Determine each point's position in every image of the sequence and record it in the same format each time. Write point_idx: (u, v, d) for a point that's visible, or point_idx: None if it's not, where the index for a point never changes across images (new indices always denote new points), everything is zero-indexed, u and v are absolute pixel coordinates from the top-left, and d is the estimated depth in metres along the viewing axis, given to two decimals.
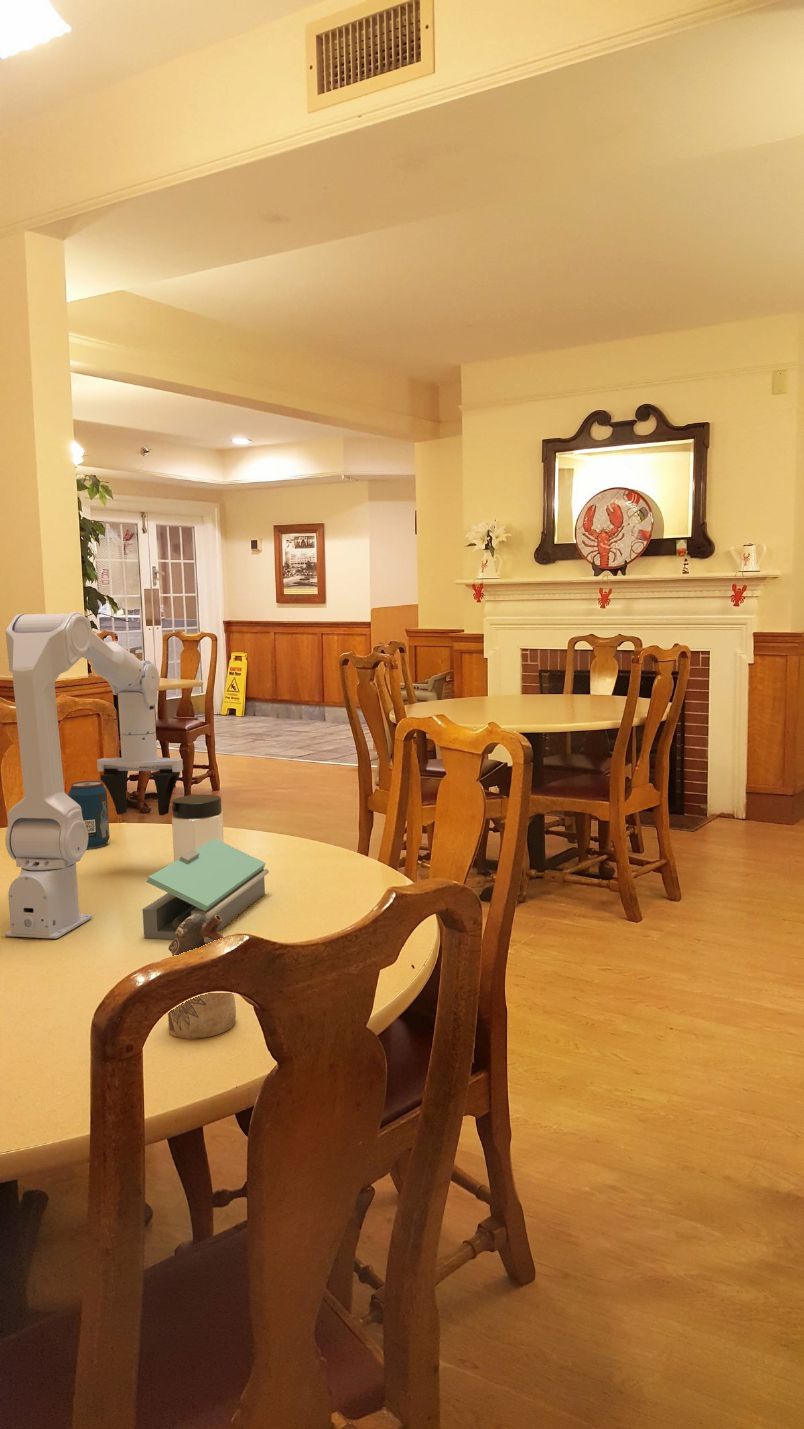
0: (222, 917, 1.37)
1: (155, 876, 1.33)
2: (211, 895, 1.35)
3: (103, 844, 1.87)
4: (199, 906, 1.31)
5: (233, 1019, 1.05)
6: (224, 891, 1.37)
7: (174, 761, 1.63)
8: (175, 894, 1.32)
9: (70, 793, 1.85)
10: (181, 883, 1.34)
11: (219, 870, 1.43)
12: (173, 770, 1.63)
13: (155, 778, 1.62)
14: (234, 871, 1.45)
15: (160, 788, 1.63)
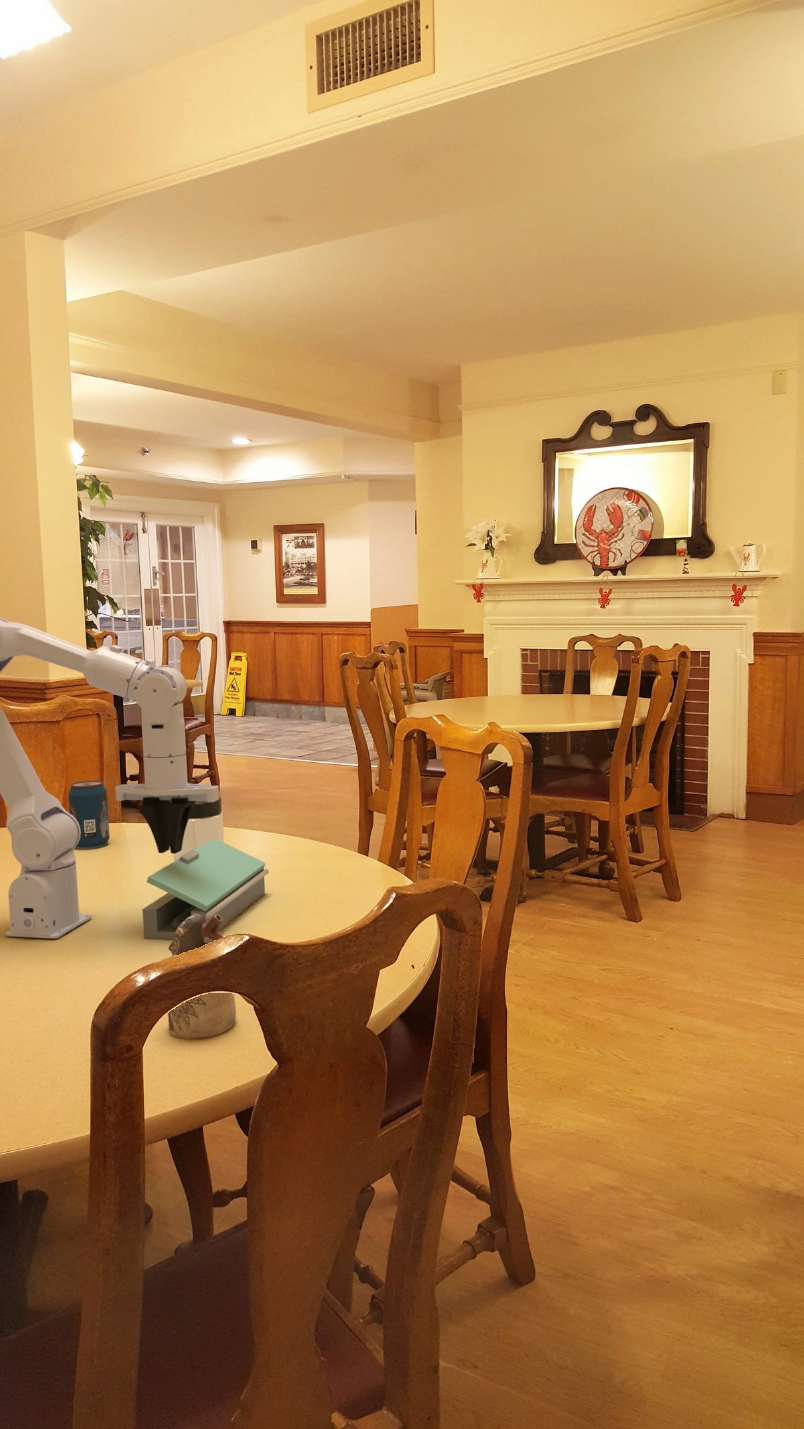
0: (222, 917, 1.37)
1: (155, 876, 1.33)
2: (211, 895, 1.35)
3: (103, 844, 1.87)
4: (199, 906, 1.31)
5: (233, 1019, 1.05)
6: (224, 891, 1.37)
7: (209, 789, 1.35)
8: (175, 894, 1.32)
9: (70, 793, 1.85)
10: (181, 883, 1.34)
11: (219, 870, 1.43)
12: (207, 800, 1.35)
13: (166, 809, 1.35)
14: (234, 871, 1.45)
15: (172, 821, 1.35)
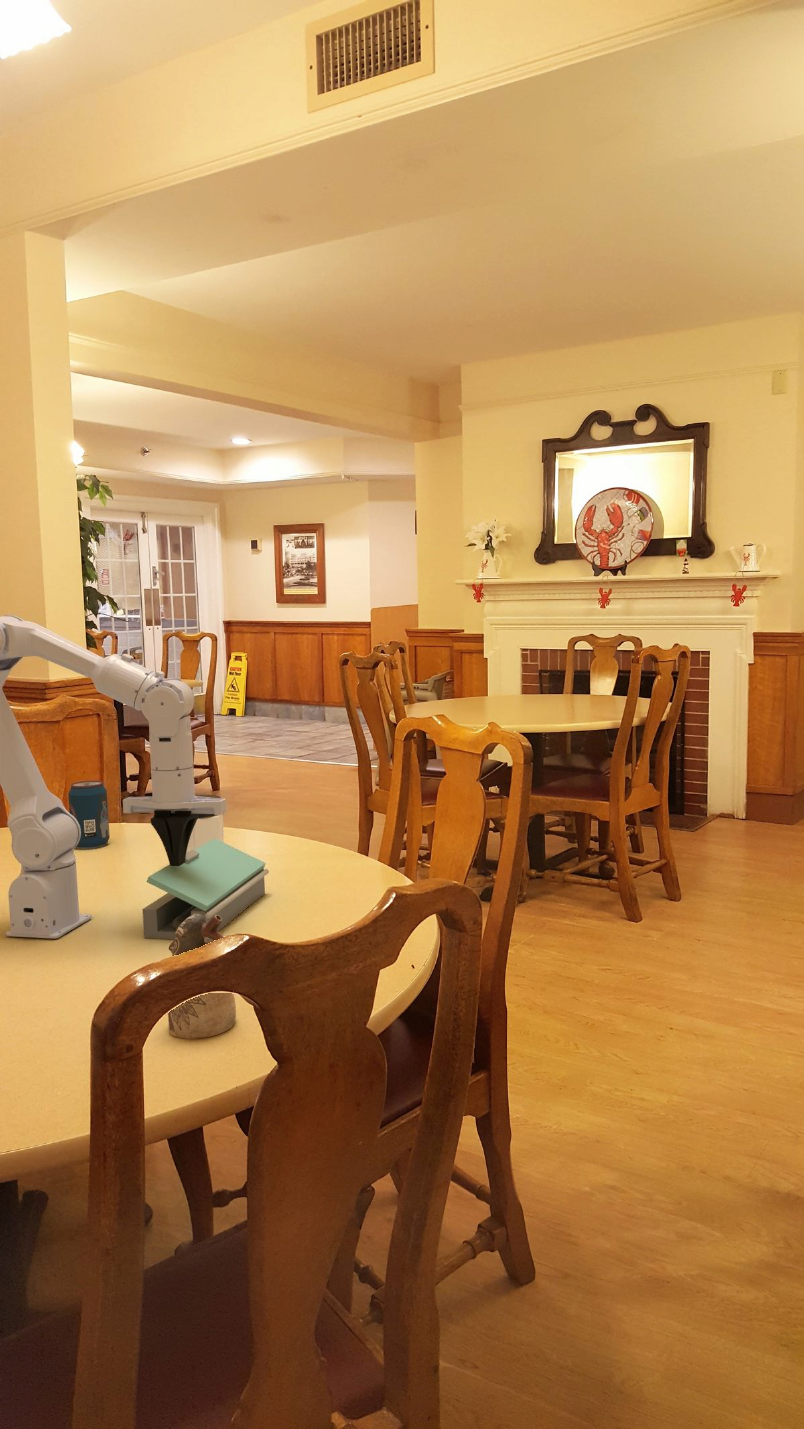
0: (222, 917, 1.37)
1: (155, 876, 1.33)
2: (211, 895, 1.35)
3: (103, 844, 1.87)
4: (199, 906, 1.31)
5: (233, 1019, 1.05)
6: (224, 891, 1.37)
7: (216, 802, 1.35)
8: (175, 894, 1.32)
9: (70, 793, 1.85)
10: (181, 883, 1.34)
11: (219, 870, 1.43)
12: (215, 813, 1.35)
13: (170, 822, 1.35)
14: (234, 871, 1.45)
15: (175, 834, 1.35)
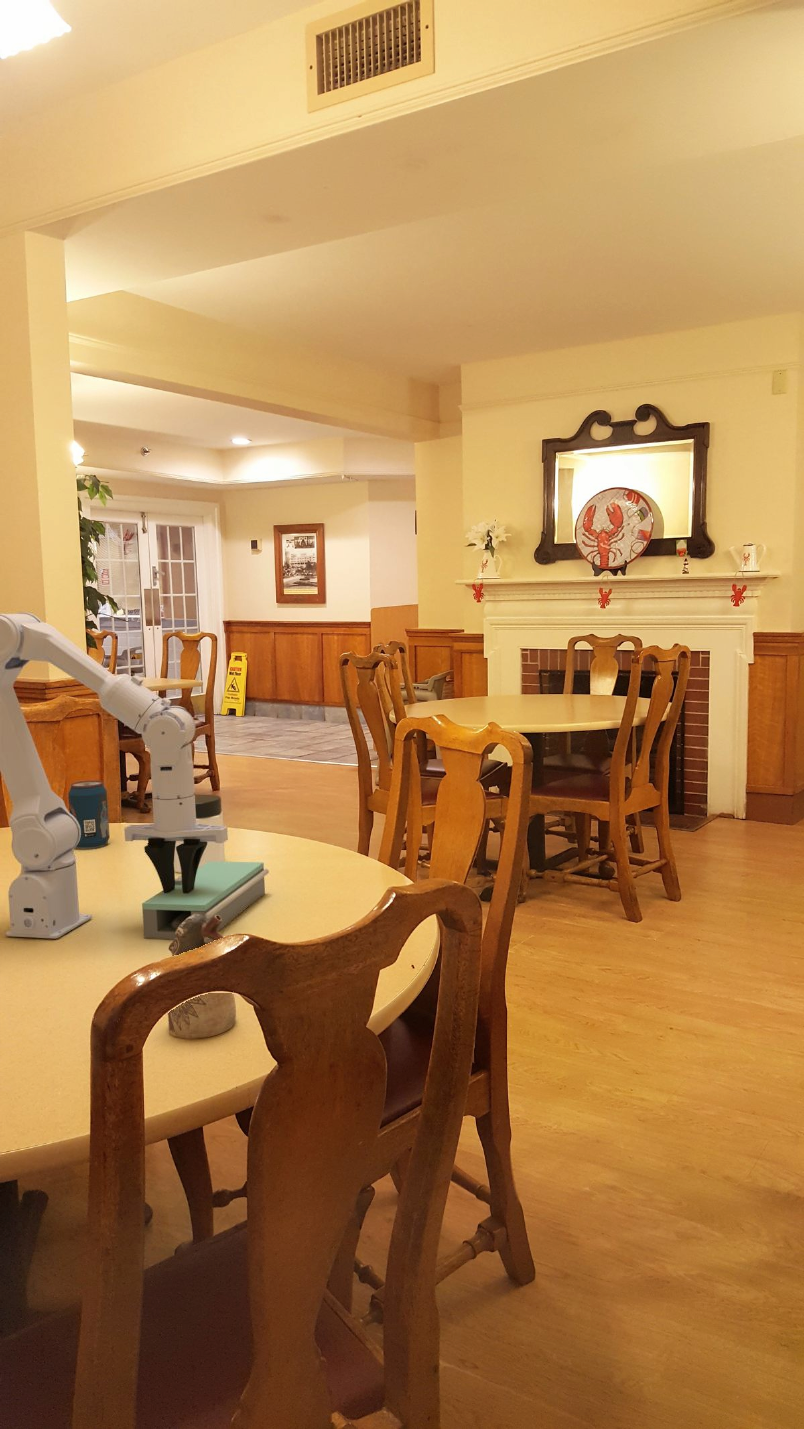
0: (222, 917, 1.37)
1: (149, 901, 1.34)
2: (208, 897, 1.35)
3: (103, 844, 1.87)
4: (198, 909, 1.32)
5: (233, 1019, 1.05)
6: (221, 891, 1.37)
7: (218, 830, 1.35)
8: (172, 908, 1.32)
9: (70, 793, 1.85)
10: (176, 898, 1.35)
11: (215, 879, 1.44)
12: (216, 841, 1.35)
13: (178, 851, 1.35)
14: (231, 876, 1.45)
15: (184, 862, 1.36)
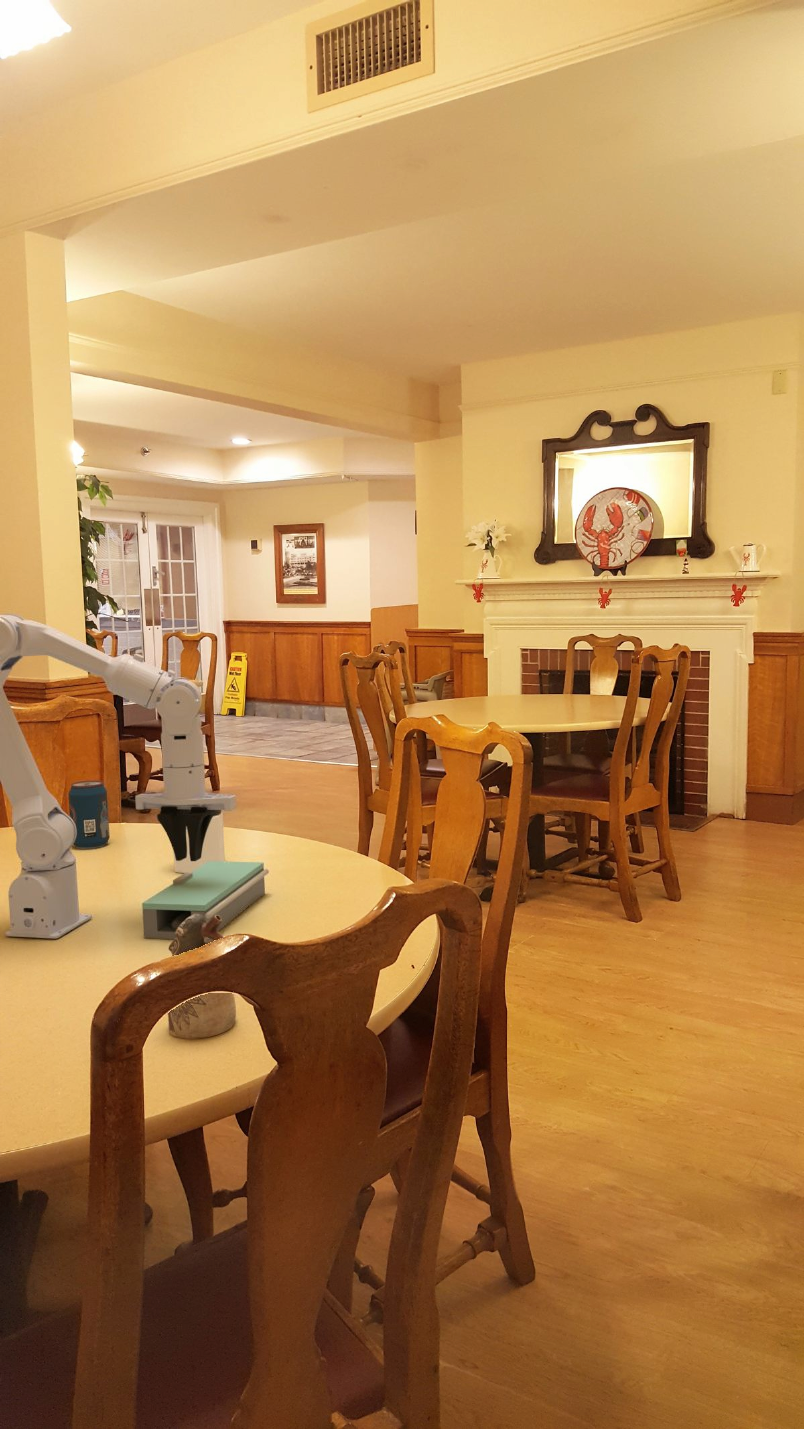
0: (222, 917, 1.37)
1: (149, 901, 1.34)
2: (208, 897, 1.35)
3: (103, 844, 1.87)
4: (198, 909, 1.32)
5: (233, 1019, 1.05)
6: (221, 891, 1.37)
7: (226, 798, 1.38)
8: (172, 908, 1.32)
9: (70, 793, 1.85)
10: (176, 898, 1.35)
11: (215, 879, 1.44)
12: (225, 809, 1.38)
13: (186, 818, 1.38)
14: (231, 876, 1.45)
15: (192, 830, 1.39)
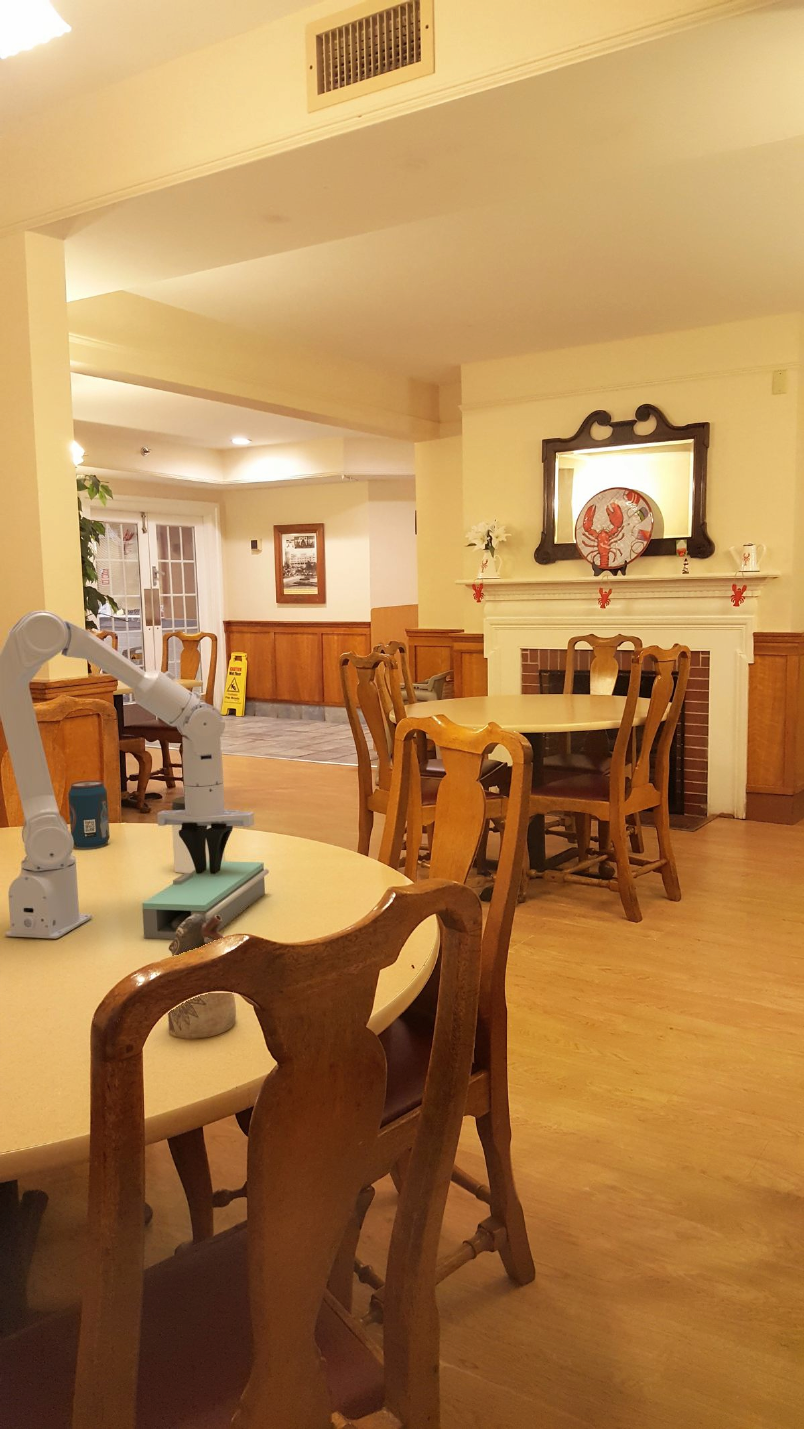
0: (222, 917, 1.37)
1: (149, 901, 1.34)
2: (208, 897, 1.35)
3: (103, 844, 1.87)
4: (198, 909, 1.32)
5: (233, 1019, 1.05)
6: (221, 891, 1.37)
7: (245, 815, 1.45)
8: (172, 908, 1.32)
9: (70, 793, 1.85)
10: (176, 898, 1.35)
11: (215, 879, 1.44)
12: (244, 825, 1.45)
13: (207, 834, 1.45)
14: (231, 876, 1.45)
15: (212, 845, 1.45)
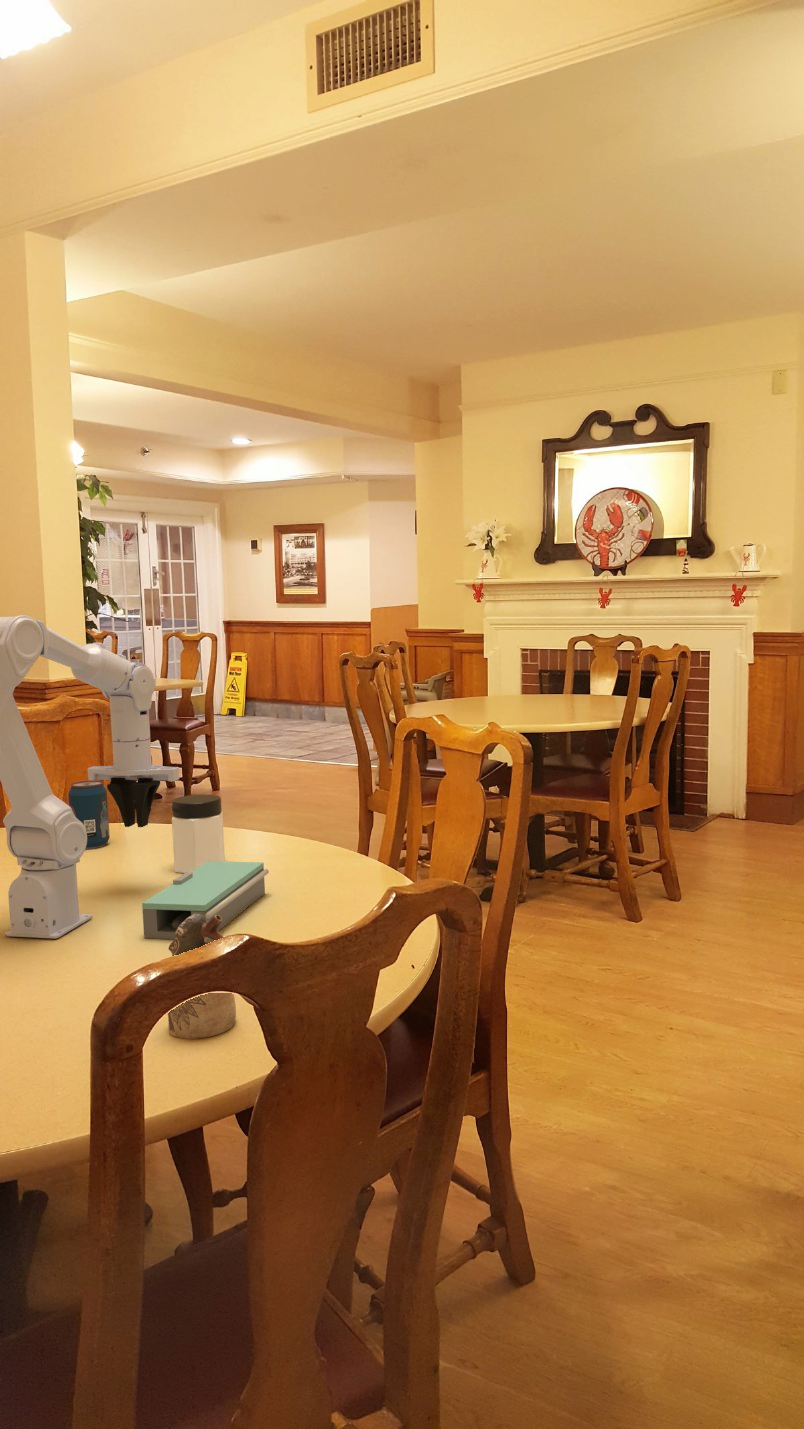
0: (222, 917, 1.37)
1: (149, 901, 1.34)
2: (208, 897, 1.35)
3: (103, 844, 1.87)
4: (198, 909, 1.32)
5: (233, 1019, 1.05)
6: (221, 891, 1.37)
7: (170, 770, 1.52)
8: (172, 908, 1.32)
9: (70, 793, 1.85)
10: (176, 898, 1.35)
11: (215, 879, 1.44)
12: (169, 779, 1.52)
13: (133, 788, 1.52)
14: (231, 876, 1.45)
15: (138, 798, 1.53)
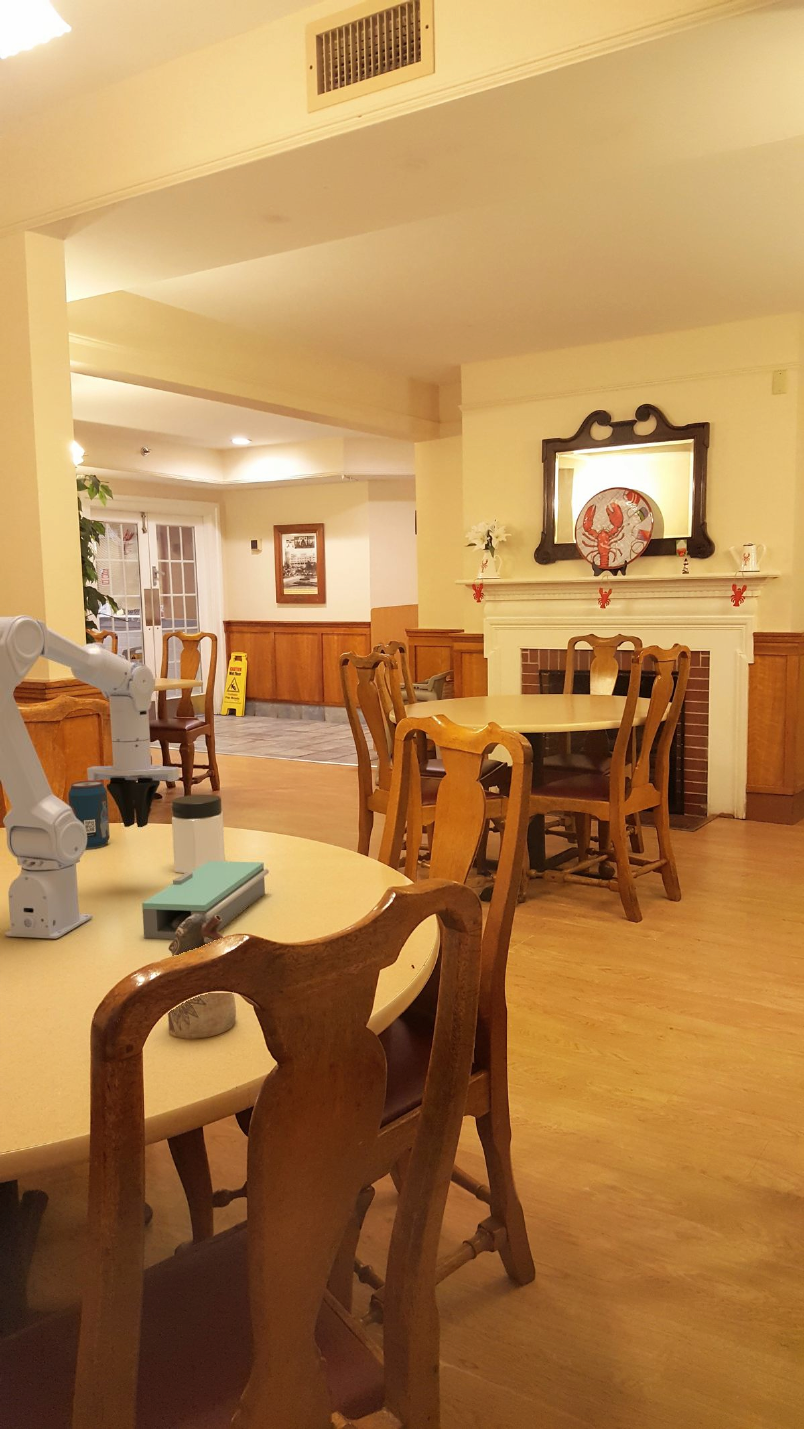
0: (222, 917, 1.37)
1: (149, 901, 1.34)
2: (208, 897, 1.35)
3: (103, 844, 1.87)
4: (198, 909, 1.32)
5: (233, 1019, 1.05)
6: (221, 891, 1.37)
7: (169, 770, 1.52)
8: (172, 908, 1.32)
9: (70, 793, 1.85)
10: (176, 898, 1.35)
11: (215, 879, 1.44)
12: (168, 779, 1.52)
13: (133, 788, 1.52)
14: (231, 876, 1.45)
15: (138, 798, 1.53)
